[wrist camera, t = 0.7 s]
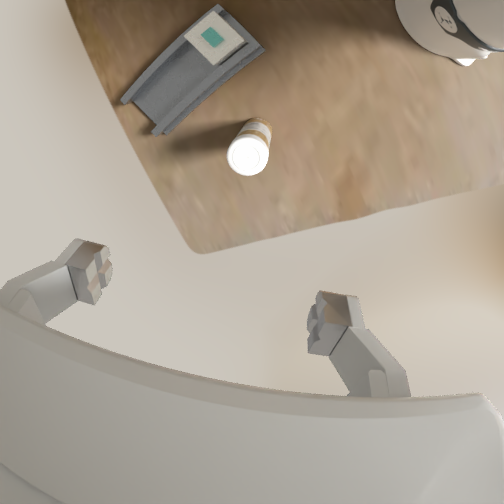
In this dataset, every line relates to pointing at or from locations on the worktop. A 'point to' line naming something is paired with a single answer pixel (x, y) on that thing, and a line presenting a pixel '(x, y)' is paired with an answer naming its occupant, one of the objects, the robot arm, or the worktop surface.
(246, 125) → the sprinkles bottle
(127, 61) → the worktop surface
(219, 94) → the worktop surface
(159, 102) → the rail
